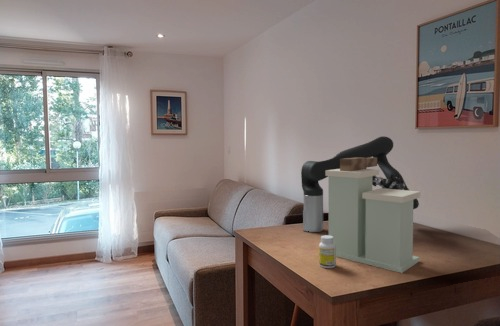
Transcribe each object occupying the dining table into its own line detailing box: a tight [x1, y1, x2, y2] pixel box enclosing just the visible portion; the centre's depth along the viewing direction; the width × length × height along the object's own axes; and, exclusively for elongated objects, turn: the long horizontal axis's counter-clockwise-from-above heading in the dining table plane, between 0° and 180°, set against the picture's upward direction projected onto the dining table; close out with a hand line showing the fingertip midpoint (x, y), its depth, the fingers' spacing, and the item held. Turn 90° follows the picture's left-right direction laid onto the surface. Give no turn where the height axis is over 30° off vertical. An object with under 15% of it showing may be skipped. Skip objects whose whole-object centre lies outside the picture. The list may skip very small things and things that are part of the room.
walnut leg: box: [340, 157, 378, 171], centre depth 139 cm, size 22×4×4 cm, turn 135°
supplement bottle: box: [318, 234, 337, 269], centre depth 124 cm, size 6×6×10 cm
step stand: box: [325, 168, 421, 274], centre depth 131 cm, size 15×29×32 cm, turn 45°
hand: (380, 174), depth 152 cm, fingers open, 8 cm apart
